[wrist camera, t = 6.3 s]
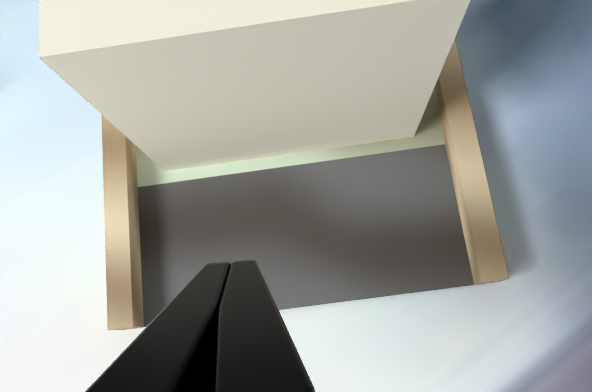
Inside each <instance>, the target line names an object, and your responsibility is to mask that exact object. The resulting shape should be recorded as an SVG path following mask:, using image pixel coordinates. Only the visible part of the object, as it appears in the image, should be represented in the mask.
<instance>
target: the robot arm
mask: <svg viewBox="0 0 592 392" xmlns="http://www.w3.org/2000/svg"><path fill="white" fill-rule="evenodd" d="M86 392H315V389H314V387H313V384H312V382H311V380H310V378H309V376H308V374H307V371H306V369H305V367H304V365H303V363H302V360H301V358H300V356H299V354H298V352H297V349H296V347H295V345H294V343H293V341H292V339H291V336H290V334H289V332H288V330H287V328H286V325H285V323H284V321H283V319H282V317H281V314H280V312H279V310H278V308H277V306H276V303H275V301H274V299H273V297H272V295H271V293H270V290H269V288H268V286H267V284H266V282H265V279H264V277H263V275H262V273H261V271H260V268H259V266H258V264H257V262H256V261H255V260H253V259H250V260H239V261H234V262H232V264H231V263H230V262H215V263H208V264H206V265H205V266H204V267H203V268H202V269H201V270H200V271H199V272H198V273H197V274H196V275H195V276H194V277H193V279H192V280H191V281H190V282H189V283H188V284H187V285H186V286H185V287H184V288H183V289H182V290H181V291H180V292H179V293H178V294H177V295H176V296H175V298H174V299H173V300H172V301H171V302H170V303H169V304H168V305H167V306H166V307H165V308H164V309H163V310H162V311H161V312H160V313H159V314H158V315H157V317H156V318H155V319H154V320H153V321H152V322H151V323H150V324H149V325H148V326H147V327H146V328H145V329H144V330H143V331H142V332H141V333H140V334H139V336H138V337H137V338H136V339H135V340H134V341H133V342H132V343H131V344H130V345H129V346H128V347H127V348H126V349H125V350H124V351H123V352H122V353H121V355H120V356H119V357H118V358H117V359H116V360H115V361H114V362H113V363H112V364H111V365H110V366H109V367H108V368H107V369H106V370H105V371H104V372H103V374H102V375H101V376H100V377H99V378H98V379H97V380H96V381H95V382H94V383H93V384H92V385H91V386H90V387H89V388H88V389H87V390H86Z"/></svg>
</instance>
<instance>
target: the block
mask: <svg viewBox="0 0 592 392" xmlns="http://www.w3.org/2000/svg"><path fill="white" fill-rule="evenodd" d="M469 3H470V0H39V58H40V59H41V60H42V61H43V62H44V63H46V64H47V65H48V66H49V67H50V68H51V69H52V70H53V71H54V72H55V73H57V74H58V75H59V76H60V77H61V78H62V79H63V80H64V81H65V82H67V83H68V84H69V85H70V86H71V87H72V88H73V89H74V90H75V91H76V92H78V93H79V94H80V95H81V96H82V97H83V98H84V99H85V100H86V101H87V102H89V103H90V104H91V105H92V106H93V107H94V108H95V109H96V110H97V111H99V112H100V113H101V114H102V115H103V116H104V117H105V118H106V119H107V120H108V121H110V122H111V123H112V124H113V125H114V126H115V127H116V128H117V129H118V130H120V131H121V132H122V133H123V134H124V135H125V136H126V137H127V138H128V139H129V140H131V141H132V142H133V143H134V144H135V145H136V146H137V147H138V148H139V149H140V150H142V151H143V152H144V153H145V154H146V155H147V156H148V157H149V158H150V159H152V160H153V161H154V162H155V163H156V164H157V165H158V166H159V167H160V168H161V169H163V170H164V171H173V170H180V169H187V168H194V167H201V166H208V165H215V164H222V163H230V162H237V161H244V160H251V159H258V158H265V157H272V156H280V155H287V154H294V153H301V152H308V151H315V150H322V149H329V148H337V147H344V146H351V145H358V144H365V143H372V142H379V141H386V140H394V139H401V138H408V137H414V135H415V133H416V130H417V128H418V125H419V123H420V121H421V118H422V116H423V113H424V111H425V109H426V106H427V104H428V101H429V99H430V97H431V94H432V92H433V89H434V87H435V85H436V82H437V80H438V77H439V75H440V72H441V70H442V68H443V65H444V63H445V60H446V58H447V56H448V53H449V51H450V48H451V46H452V44H453V41H454V39H455V36H456V34H457V32H458V29H459V27H460V24H461V22H462V20H463V17H464V15H465V12H466V10H467V8H468V5H469Z"/></svg>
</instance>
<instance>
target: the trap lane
mask: <svg viewBox="0 0 592 392" xmlns="http://www.w3.org/2000/svg"><path fill="white" fill-rule="evenodd" d="M102 142H103V177H104V212H105V248H106V283H107V318H108V330H125V329H133V328H141V327H147V326H148V325H149V324H150V323H151V322H152V321H153V320H154V319H155V318H156V317H157V315H158V314H159V313H160V312H161V311H162V310H163V309H164V308H165V307H166V306H167V305H168V304H169V303H170V302H171V301H172V300H173V299H174V298H175V296H176V295H177V294H178V293H179V292H180V291H181V290H182V289H183V288H184V287H185V286H186V285H187V284H188V283H189V282H190V281H191V280H192V279H193V277H194V276H195V275H196V274H197V273H198V272H199V271H200V270H201V269H202V268H203V267H204V266H205V265H206V264H208V263H215V262H230V263H231V264H232V262H234V261H239V260H250V259H253V260H255V261H256V262H257V264H258V266H259V268H260V271H261V273H262V275H263V277H264V279H265V282H266V284H267V286H268V288H269V290H270V293H271V295H272V297H273V299H274V301H275V303H276V306H277V308H278V310H281V309H289V308H297V307H304V306H312V305H320V304H328V303H336V302H343V301H351V300H359V299H367V298H375V297H383V296H390V295H398V294H406V293H414V292H422V291H429V290H437V289H445V288H453V287H461V286H468V285H476V284H484V283H492V282H499V281H502V280H506V279H509V275H508V271H507V266H506V262H505V258H504V253H503V249H502V244H501V240H500V235H499V231H498V226H497V222H496V218H495V213H494V209H493V204H492V200H491V195H490V191H489V187H488V182H487V178H486V173H485V169H484V164H483V160H482V155H481V151H480V147H479V142H478V138H477V133H476V129H475V124H474V120H473V116H472V111H471V107H470V102H469V98H468V93H467V89H466V85H465V80H464V76H463V71H462V67H461V62H460V58H459V53H458V49H457V45H456V40H455V39H454V41H453V44H452V46H451V48H450V51H449V53H448V56H447V58H446V60H445V63H444V65H443V68H442V70H441V72H440V75H439V77H438V80H437V82H436V85H435V87H434V89H433V92H432V94H431V97H430V99H429V101H428V104H427V106H426V109H425V111H424V113H423V116H422V118H421V121H420V123H419V125H418V128H417V130H416V133H415V135H414V137H408V138H401V139H394V140H386V141H379V142H372V143H365V144H358V145H351V146H344V147H337V148H329V149H322V150H315V151H308V152H301V153H294V154H287V155H280V156H272V157H265V158H258V159H251V160H244V161H237V162H230V163H222V164H215V165H208V166H201V167H194V168H187V169H180V170H173V171H164V170H163V169H161V168H160V167H159V166H158V165H157V164H156V163H155V162H154V161H153V160H152V159H150V158H149V157H148V156H147V155H146V154H145V153H144V152H143V151H142V150H140V149H139V148H138V147H137V146H136V145H135V144H134V143H133V142H132V141H131V140H129V139H128V138H127V137H126V136H125V135H124V134H123V133H122V132H121V131H120V130H118V129H117V128H116V127H115V126H114V125H113V124H112V123H111V122H110V121H108V120H107V119H106V118H105V117H104V116H103V115H102Z"/></svg>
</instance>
